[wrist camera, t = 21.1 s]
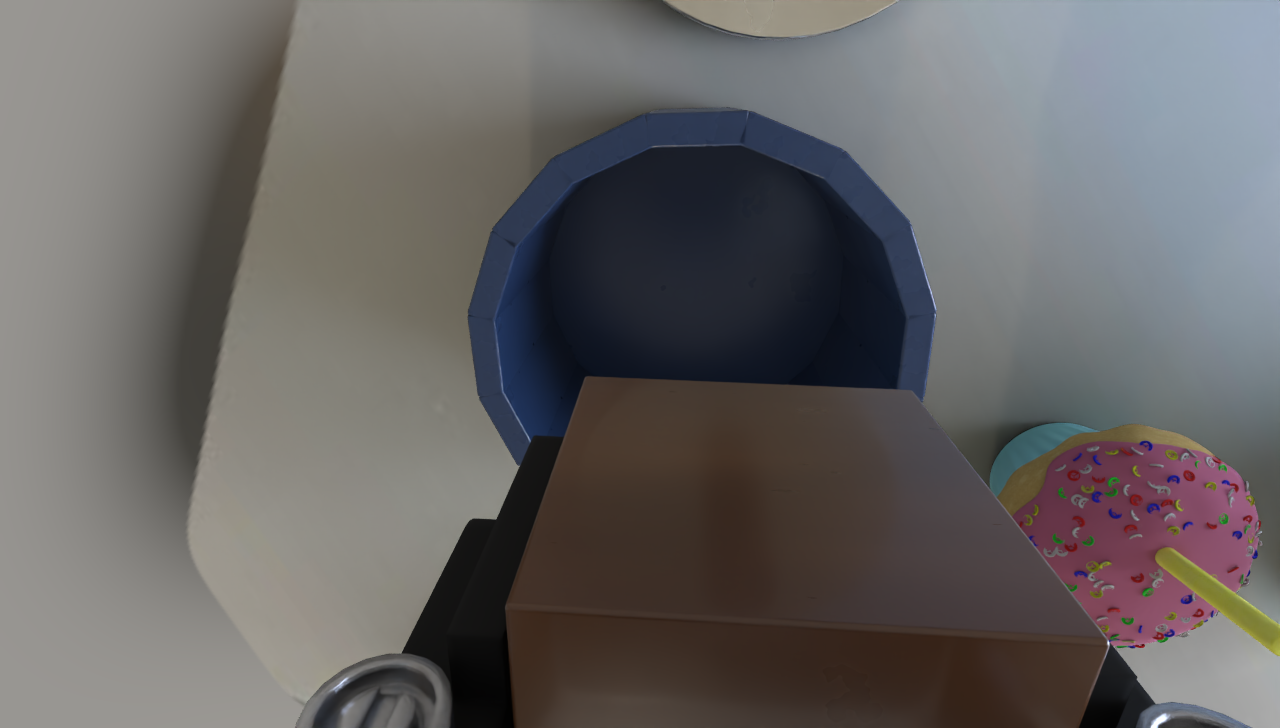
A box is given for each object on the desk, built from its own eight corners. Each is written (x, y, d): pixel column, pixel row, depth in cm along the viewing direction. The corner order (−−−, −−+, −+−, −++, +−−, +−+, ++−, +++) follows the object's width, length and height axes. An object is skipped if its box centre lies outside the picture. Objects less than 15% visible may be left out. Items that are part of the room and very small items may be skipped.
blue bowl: (923, 187, 24) (1031, 227, 16) (772, 467, 28) (802, 598, 21) (595, 51, 23) (549, 26, 15) (495, 364, 27) (423, 462, 20)
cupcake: (945, 393, 26) (1132, 606, 15) (1174, 365, 25) (1554, 573, 14) (945, 565, 29) (1101, 847, 18) (1150, 547, 28) (1446, 834, 17)
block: (912, 389, 9) (1115, 642, 5) (863, 641, 11) (981, 992, 7) (584, 375, 9) (503, 606, 5) (587, 624, 11) (528, 954, 7)
